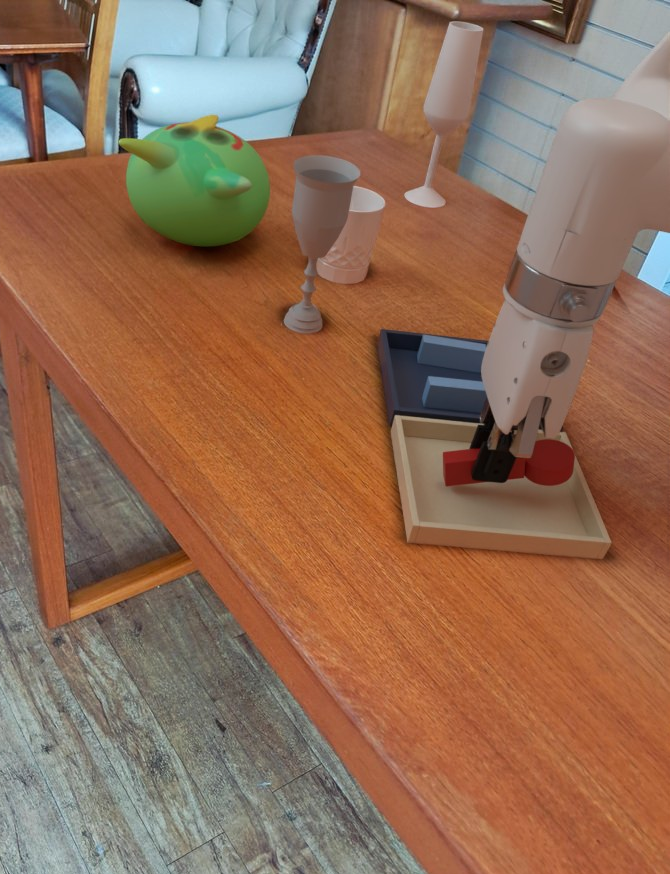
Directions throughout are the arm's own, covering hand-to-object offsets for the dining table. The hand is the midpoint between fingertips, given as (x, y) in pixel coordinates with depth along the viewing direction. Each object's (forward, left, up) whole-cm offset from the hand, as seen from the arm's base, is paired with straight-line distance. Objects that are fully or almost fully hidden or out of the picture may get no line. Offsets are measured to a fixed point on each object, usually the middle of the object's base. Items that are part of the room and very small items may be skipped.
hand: (485, 470), depth 71 cm
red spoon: (-2, 0, 0) cm, 2 cm away
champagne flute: (-4, -70, -3) cm, 70 cm away
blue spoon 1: (-3, -21, -2) cm, 21 cm away
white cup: (+11, -41, -3) cm, 42 cm away
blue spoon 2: (-2, -13, -2) cm, 13 cm away
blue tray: (-1, -16, -3) cm, 16 cm away
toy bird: (+30, -46, -3) cm, 55 cm away
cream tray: (-1, 0, -3) cm, 3 cm away
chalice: (+16, -27, -3) cm, 31 cm away
